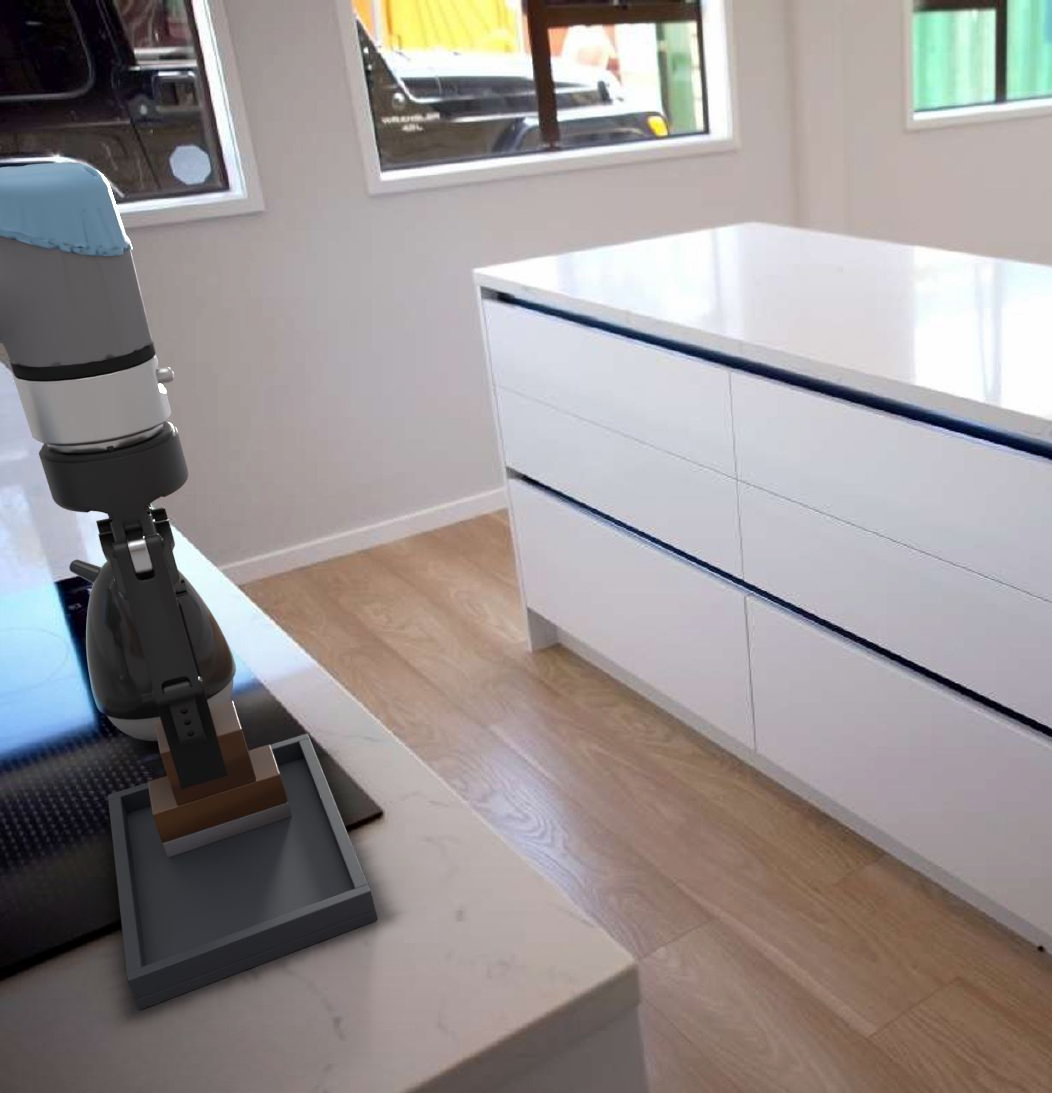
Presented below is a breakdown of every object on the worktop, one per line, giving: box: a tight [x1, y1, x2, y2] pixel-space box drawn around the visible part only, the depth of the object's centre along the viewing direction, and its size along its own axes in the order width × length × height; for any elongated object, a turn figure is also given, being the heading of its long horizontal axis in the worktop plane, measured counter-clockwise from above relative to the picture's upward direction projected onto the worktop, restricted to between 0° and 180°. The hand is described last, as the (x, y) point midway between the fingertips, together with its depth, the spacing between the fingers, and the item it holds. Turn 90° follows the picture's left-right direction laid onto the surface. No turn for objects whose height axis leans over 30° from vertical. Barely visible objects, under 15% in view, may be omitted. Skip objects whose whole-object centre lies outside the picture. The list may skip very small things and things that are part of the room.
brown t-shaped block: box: [147, 700, 292, 858], centre depth 85 cm, size 4×8×8 cm, turn 120°
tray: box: [107, 733, 379, 1011], centre depth 83 cm, size 22×14×2 cm, turn 31°
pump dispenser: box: [68, 559, 237, 742], centre depth 98 cm, size 10×10×15 cm
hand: (192, 731), depth 84 cm, fingers open, 13 cm apart
